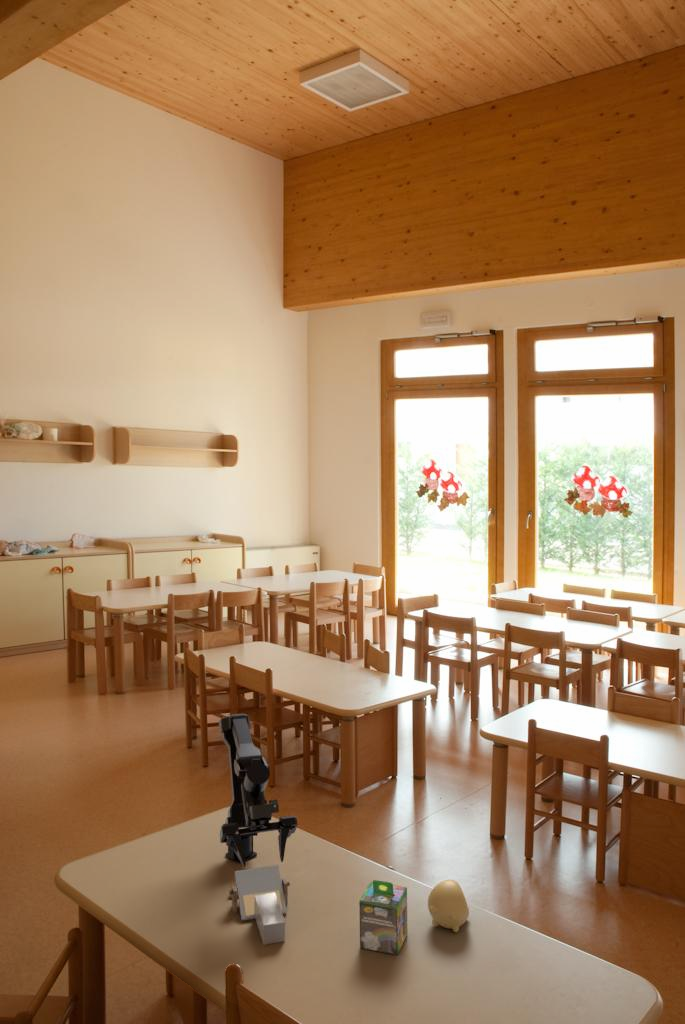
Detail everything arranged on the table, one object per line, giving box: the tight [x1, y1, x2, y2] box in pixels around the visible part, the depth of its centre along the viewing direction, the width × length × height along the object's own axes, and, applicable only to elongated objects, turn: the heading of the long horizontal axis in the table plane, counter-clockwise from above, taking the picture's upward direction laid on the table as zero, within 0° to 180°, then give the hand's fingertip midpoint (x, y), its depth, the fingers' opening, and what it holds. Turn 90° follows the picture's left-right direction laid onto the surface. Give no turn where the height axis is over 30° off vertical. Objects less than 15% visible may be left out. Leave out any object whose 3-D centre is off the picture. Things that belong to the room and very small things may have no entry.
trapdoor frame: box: [228, 877, 291, 914], centre depth 210 cm, size 8×15×6 cm, turn 107°
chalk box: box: [358, 879, 408, 956], centre depth 192 cm, size 9×9×15 cm
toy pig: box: [427, 879, 470, 933], centre depth 199 cm, size 10×12×11 cm
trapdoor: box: [234, 864, 288, 922], centre depth 207 cm, size 12×11×4 cm
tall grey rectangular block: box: [254, 892, 286, 946], centre depth 196 cm, size 5×5×11 cm
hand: (263, 864), depth 202 cm, fingers open, 9 cm apart
